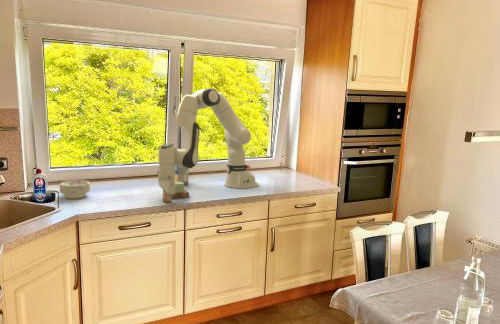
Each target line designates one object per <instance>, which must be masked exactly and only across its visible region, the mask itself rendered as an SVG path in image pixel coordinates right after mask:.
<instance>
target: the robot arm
mask: <svg viewBox="0 0 500 324" xmlns="http://www.w3.org/2000/svg"><path fill="white" fill-rule="evenodd" d="M207 108H211V110H212V112H213V114H214V115H215V117H216V119H217V120H218V122H219V123H220V125H221V126H222V127H223V128H224V131H223V134H224V138H225V141H226V149H227V165H226V178H225V182H224V186H225V187H228V188H232V189H240V190H242V189H249V188H254V187H259V185H260V184H259V183H258V182H257V181H256V176H255V175H254V174H253V173H252V172H250V171H249V170H248V169H250V168H251V166H250V165H249V164H245V163H246V151H245V149H244V145H246V144H249V143H250V141H251V139H252V133H251V131H250V130H249V129H248V128H247V127H246V126H245V124H244V123H243V122H242V121H241V119H240V118H239V117H238V116H237V114H236V112H235V111H234V109H233V108H232V106H231V104H230V102H229V101H228V100H227V97H226V96H224V94H223V93H222V92H220V91H217V90H216V89H215V88H212V87H207V88H201V89H199V90H197V91H194V92H192V93H190V94H185V95H184V96H182V99H181V100H180V103H179V106H178V108H177V111H176V116H175V118H176V119H175V120H176V123H177V125H178V126H179V127H180V128H182V129H183V130H185V131H187V132H188V134H189V139H188V140H189V142H188V147H187V149H184V148H179V147H175V145H174V144H173V143H163V144H161V145H160V146H159V149H158V170H157V174H156V175H158V178H157V179H158V186H159V188H161V189H162V193H163V192H166V193H167V197H166V198H167V200H170V197H171V195H174V194H175V181H174V180H173V178H175V165H176V166H182V167H186V168H188V169H192V168H194V167H195V166H196V165H198V162H199V141H200V125H199V123H197V116H198V111H199V110H204V109H207Z"/></svg>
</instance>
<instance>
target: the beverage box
mask: <svg viewBox="0 0 500 324" xmlns="http://www.w3.org/2000/svg"><path fill="white" fill-rule="evenodd" d="M173 180H174V181H175V182H183V183H184V187H185V186H189V168H186V167H182V166H176V165H175V178H173Z"/></svg>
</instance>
